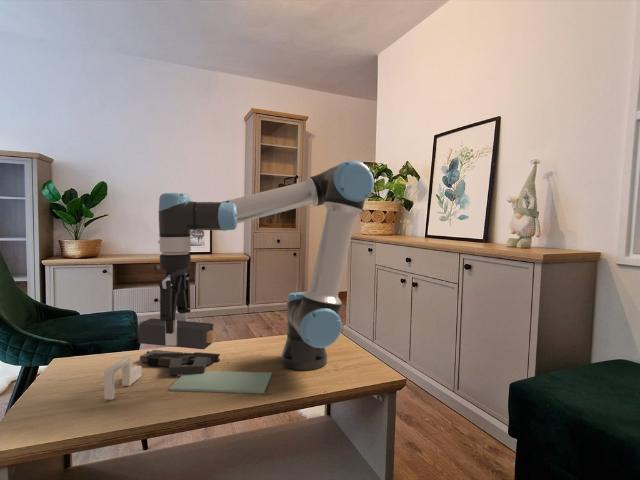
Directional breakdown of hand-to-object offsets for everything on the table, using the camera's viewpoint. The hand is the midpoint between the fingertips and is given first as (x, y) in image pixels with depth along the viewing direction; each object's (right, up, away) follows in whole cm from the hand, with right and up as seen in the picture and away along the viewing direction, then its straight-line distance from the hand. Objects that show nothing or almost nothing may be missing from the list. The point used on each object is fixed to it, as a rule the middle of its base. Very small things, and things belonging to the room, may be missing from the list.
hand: (176, 340), depth 95 cm
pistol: (-9, -13, +19) cm, 25 cm away
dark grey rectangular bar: (0, -1, 0) cm, 1 cm away
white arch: (-16, -14, +4) cm, 21 cm away
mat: (+10, -14, +8) cm, 19 cm away
